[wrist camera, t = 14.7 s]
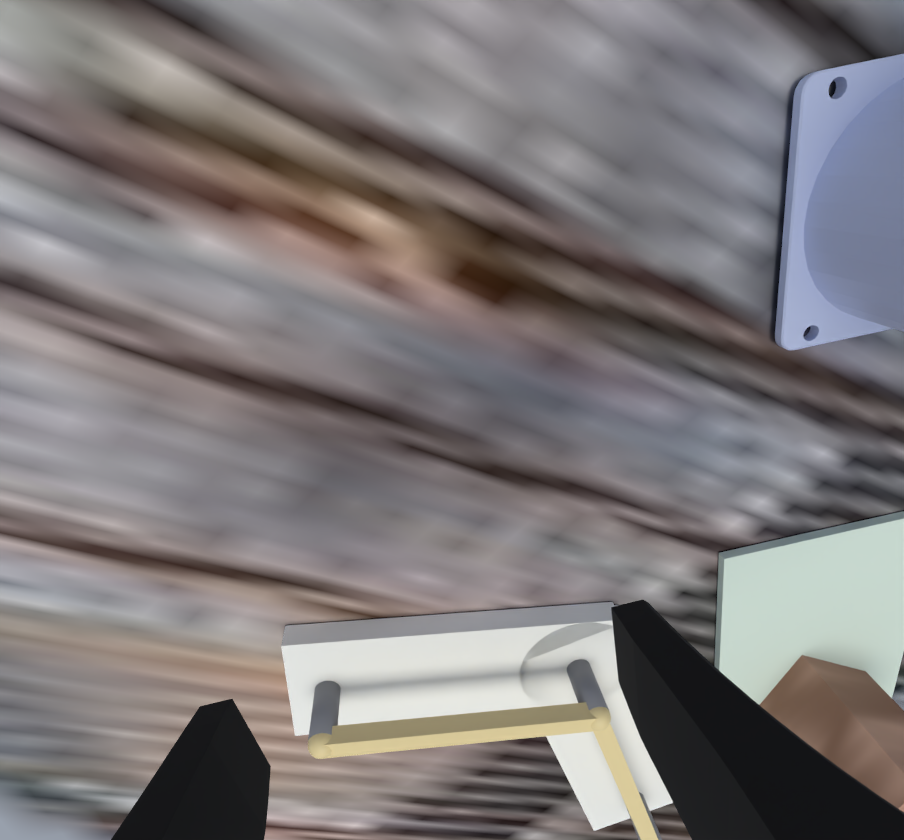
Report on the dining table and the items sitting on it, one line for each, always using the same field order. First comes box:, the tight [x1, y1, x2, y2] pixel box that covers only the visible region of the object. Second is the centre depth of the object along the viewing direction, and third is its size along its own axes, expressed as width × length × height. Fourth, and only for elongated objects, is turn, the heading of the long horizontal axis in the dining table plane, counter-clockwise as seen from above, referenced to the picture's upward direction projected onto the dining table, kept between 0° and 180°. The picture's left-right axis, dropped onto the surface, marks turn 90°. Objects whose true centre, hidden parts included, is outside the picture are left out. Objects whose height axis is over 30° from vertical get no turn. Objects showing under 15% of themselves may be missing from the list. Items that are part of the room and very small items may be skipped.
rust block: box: [760, 655, 904, 812], centre depth 23 cm, size 4×4×6 cm
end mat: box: [714, 511, 904, 705], centre depth 26 cm, size 9×19×1 cm, turn 10°
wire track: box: [281, 602, 673, 840], centre depth 23 cm, size 17×17×4 cm
